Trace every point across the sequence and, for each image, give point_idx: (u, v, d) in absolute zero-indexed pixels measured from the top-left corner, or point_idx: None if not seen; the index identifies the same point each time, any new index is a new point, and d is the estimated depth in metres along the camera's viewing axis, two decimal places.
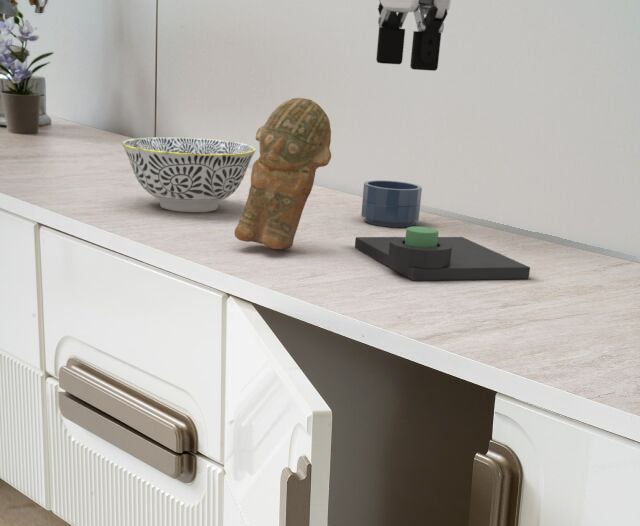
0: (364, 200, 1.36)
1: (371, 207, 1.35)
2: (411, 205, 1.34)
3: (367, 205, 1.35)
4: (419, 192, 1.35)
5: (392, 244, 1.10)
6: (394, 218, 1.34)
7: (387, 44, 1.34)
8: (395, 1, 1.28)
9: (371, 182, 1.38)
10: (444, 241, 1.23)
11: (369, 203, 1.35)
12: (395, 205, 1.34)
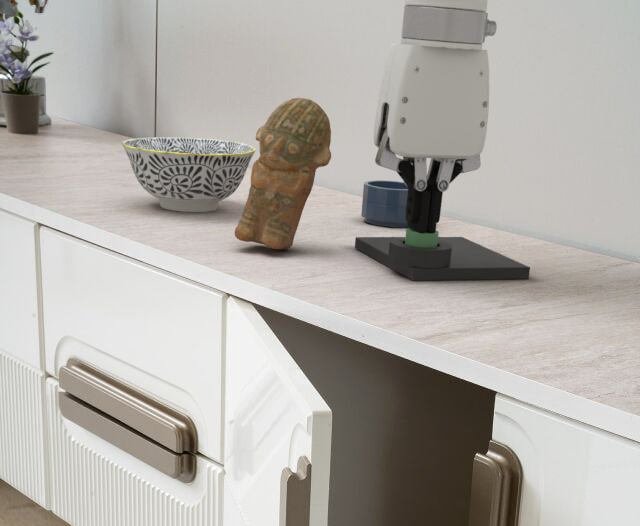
0: (364, 200, 1.36)
1: (371, 207, 1.35)
2: None
3: (367, 205, 1.35)
4: None
5: (392, 244, 1.10)
6: (394, 218, 1.34)
7: None
8: (441, 148, 1.06)
9: (371, 182, 1.38)
10: (444, 241, 1.23)
11: (369, 203, 1.35)
12: (395, 205, 1.34)
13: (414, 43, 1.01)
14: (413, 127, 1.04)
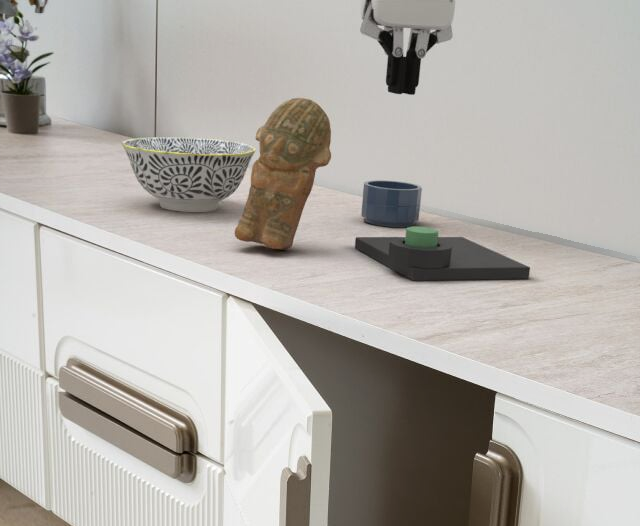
0: (364, 200, 1.36)
1: (371, 207, 1.35)
2: (411, 205, 1.34)
3: (367, 205, 1.35)
4: (419, 192, 1.35)
5: (392, 244, 1.10)
6: (394, 218, 1.34)
7: None
8: (417, 19, 1.27)
9: (371, 182, 1.38)
10: (444, 241, 1.23)
11: (369, 203, 1.35)
12: (395, 205, 1.34)
13: None
14: (393, 0, 1.25)
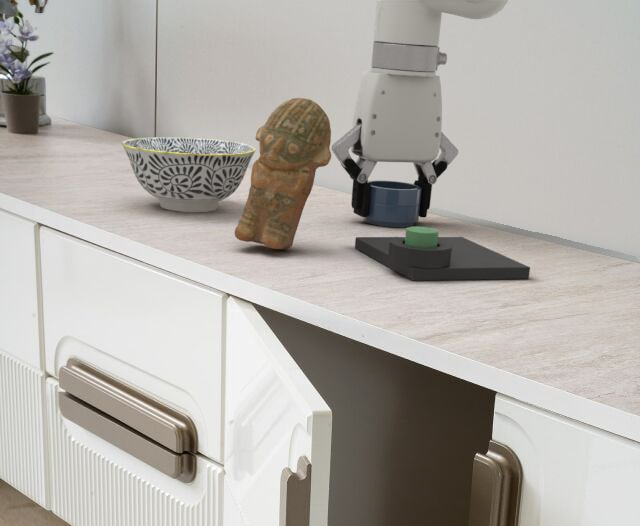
0: None
1: (371, 207, 1.35)
2: (411, 205, 1.34)
3: None
4: (419, 192, 1.35)
5: (392, 244, 1.10)
6: (394, 218, 1.34)
7: None
8: (404, 154, 1.33)
9: (371, 182, 1.38)
10: (444, 241, 1.23)
11: None
12: (395, 205, 1.34)
13: (381, 72, 1.29)
14: (381, 137, 1.31)
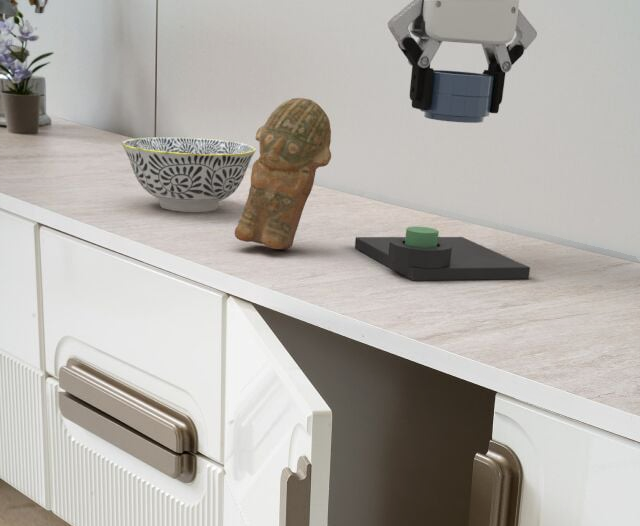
0: None
1: (433, 98, 1.13)
2: (481, 95, 1.12)
3: None
4: (491, 80, 1.13)
5: (392, 244, 1.10)
6: (461, 111, 1.12)
7: None
8: (474, 32, 1.11)
9: None
10: (444, 241, 1.23)
11: None
12: (463, 94, 1.12)
13: None
14: (447, 10, 1.09)
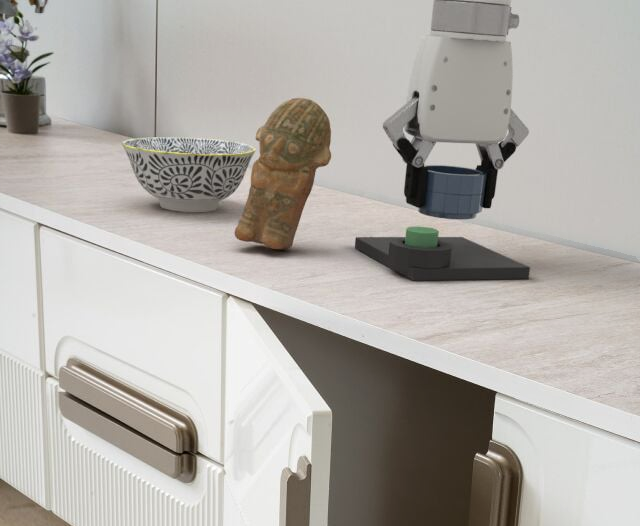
0: None
1: (427, 196, 1.15)
2: (474, 193, 1.15)
3: None
4: (484, 178, 1.15)
5: (392, 244, 1.10)
6: (455, 209, 1.14)
7: None
8: (468, 133, 1.13)
9: (426, 167, 1.18)
10: (444, 241, 1.23)
11: None
12: (456, 193, 1.14)
13: (443, 35, 1.09)
14: (441, 113, 1.11)
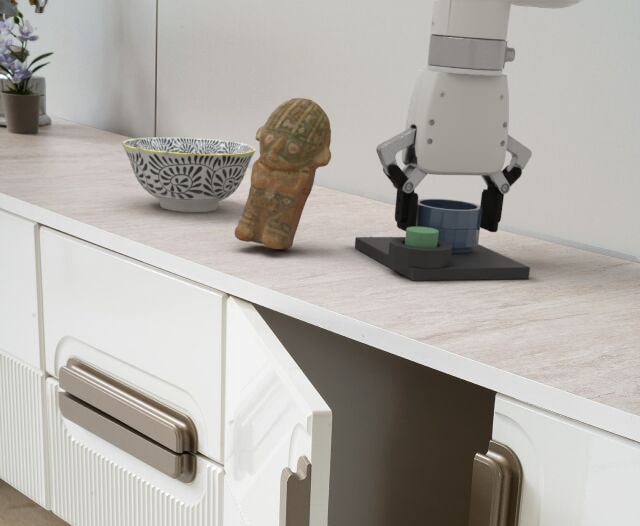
0: None
1: None
2: (470, 228, 1.16)
3: None
4: (479, 213, 1.17)
5: (392, 244, 1.10)
6: (451, 243, 1.16)
7: None
8: (465, 165, 1.14)
9: (423, 201, 1.19)
10: None
11: (422, 226, 1.16)
12: (452, 228, 1.15)
13: (440, 70, 1.10)
14: (439, 147, 1.12)
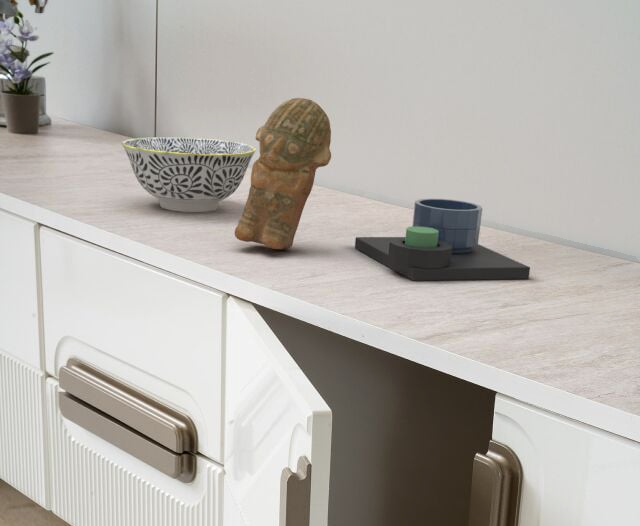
0: (415, 222, 1.17)
1: None
2: (470, 228, 1.16)
3: None
4: (479, 213, 1.17)
5: (392, 244, 1.10)
6: (451, 243, 1.16)
7: None
8: None
9: (423, 201, 1.19)
10: None
11: (422, 226, 1.16)
12: (452, 228, 1.15)
13: None
14: None
